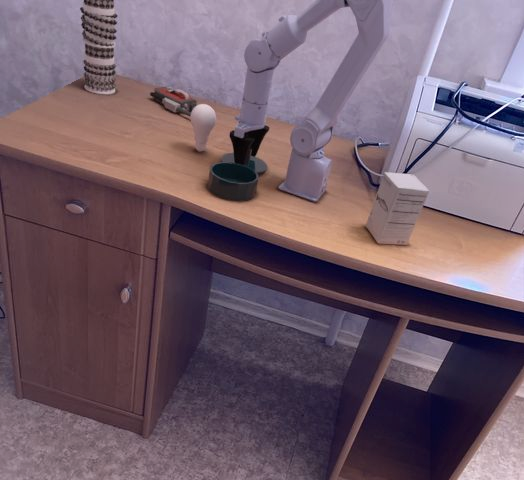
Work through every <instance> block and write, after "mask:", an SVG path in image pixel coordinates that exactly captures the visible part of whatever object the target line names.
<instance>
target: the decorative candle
mask: <svg viewBox="0 0 524 480" xmlns="http://www.w3.org/2000/svg"><path fill="white" fill-rule="evenodd" d="M79 9H80V12H81V14H82V15H81V17H80V20H81V24H80V26H81V28H82V29H83V30H82V33H81V35H82V37H83V38H82V42H83V43H84V58H83V59H84V60H83V64H84V65H83V70H84V73H83V77H84V80H83V83H84V85H83V86H84V87H83V88H84V89H85V91H88V92H90V93H93V94H97V95H113V94H115V93H116V87H117V86H116V85H117V84H116V76H115V75H116V70H115V69H116V67H117V65H116V63H115V48H116V46H117V45H116V42H115V40H117V36H116V35H115V34H116V33H117V32H118V31H117V29H116V28H115V27H114V26H115V25H117V24H118V21H116V19H117V18H118V14H117V13H115V12H116V9H115V0H83V2H82V6H81V7H79Z"/></svg>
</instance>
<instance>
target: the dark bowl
mask: <svg viewBox="0 0 524 480" xmlns="http://www.w3.org/2000/svg"><path fill="white" fill-rule="evenodd" d="M208 173H209V174H208V179H207V180H208V181H207V188H208V191H209V192H210V193H212V194H213V195H215V196H216V197H218V198H221V199H224V200H227V201H233V202H245V201H250V200H252V199H254V198H255V196H256V194H257V189H258V183H259V174H257V173H256V172H255V171H254V170H253V169H251V168H249V167H247V166H244V165H241V164H237V163H232V162H221V161H220V162H215V163H213V164H212V165H210V166H209V172H208Z"/></svg>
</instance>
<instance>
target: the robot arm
mask: <svg viewBox="0 0 524 480" xmlns="http://www.w3.org/2000/svg"><path fill="white" fill-rule="evenodd" d="M394 2H395V0H315V1H313V2H312V3H311V4H310V5H309V6H308V7H307V8H306V9H304V11H302V12H301V13H300V14H299V15H295V14H288V15H286V14H284V15H282V16H281V17H279V18H278V23H277V24H276V25H274V26H273V27H272V28H271V29H270V30H269V31H268V30H266V31H264V32H262V33H261V36H262V37H261V39H252V40H250V41H249V43H248V44H247V46H246V47H245V49H244V54H243V59H244V62H245V65H246V73H245V78H244V80H245V81H244V87H243V93H242V99H241V100H242V101H241V105H240V113H239V114H237V115H234V120H235V121H237V124H236V126H234V129H233V130H231V131H229V139H230V141H231V145H232V150H233V153H234V162H235V163H237V164H241V165H244V163H245V160H246V157H247V154H248V151H249V148H250V147H251V148H252V151H251V156H253V157H257V154H258V152H259V149H260V147H261V145H262V142H263V140H264V138H265V137H266V135H267V134H268V132H269V131H270V126H268V125H266V122H267V118H268V114H267V109H268V104H269V98H270V92H271V88H272V87H271V86H272V84H273V83H272V82H273V76H274V72H275V69H276V68H277V67H278V66H279V65H280V63H281V61H282V60H283V59H284V58H286V57H287V56H288V55H289V54H291V53H292V52H293V51H295V50H296V49H298V48H299V47H301V45H303V44H304V43H305V42H306V40H307V35H308V32H309V31H310V30H312V29H313V28H314V27H316V26H317V25H319V24H320V23H322V22H323V21H325V20H327V18H329V17H330V16H332V15H333V14H334V13H336V12H337V11H339V10H341V9H342V8H343V9H344V8H350V10H351V12H352V14H353V16H354V17H355V21H356V26H357V32H358V33H357V35H356V37H355V38H354V41H353V42H352V44H351V46H350V47H349V49H348V51H347V52H346V54H345V56H344V57H343V59H342V60H341V63H340V64H339V66H338V68H337V69H336V71H335V72H334V74H333V76H332V77H331V79H330V81H329V83H328V84H327V86H326V88H325V89H324V91H323V93H322V95H321V96H320V98H319V99H318V101H317V103H316V105H315V106H314V107H313V108H312V109H311V110H310V111H309V112H308V114H307V115H306V116H305V117H304V119H303V120H302V122H301V123H299V124H298V125H296V126H295V127H294V128H293V129H292V131H291V133H290V137H289V141H290V146H291V153H290V157H289V161H288V165H287V171H286V174H285V178H284V181H282V183H281V184H279V186H278V187H277V189H278V190H280V191H282V192H286V193H288V194H291V195H294V196H297V197H300V198H303V199H306V200H308V201H310V202H315V203H316V202H317V201H319V199H320V198H321V197H322V195H323V194H324V193H325V192H326V188H327V184H328V181H329V178H330V177H329V176H330V173H331V169H332V165H333V160H332V159H330V158H329V157H327V156H325V146H327V145H328V144H329V143H330V142H331V140H332V138H333V134H334V128H335V126H337V123H338V116H339V115H340V113H341V112H342V110H343V109H344V107H345V105H346V104H347V102H348V101H349V99H350V98H351V96H352V94H353V93H354V91H355V90H356V88H357V86H358V85H359V83H360V82H361V80H362V79H363V77H364V76H365V74H366V72H367V71H368V69H369V68H370V66H371V64H373V62H374V60H375V58H376V57H377V55H378V54H379V52H380V50H381V49H382V47H383V46H384V44H385V43H386V41H387V39H388V37H389V34H390V29H391V21H392V13H393V6H394Z"/></svg>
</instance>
